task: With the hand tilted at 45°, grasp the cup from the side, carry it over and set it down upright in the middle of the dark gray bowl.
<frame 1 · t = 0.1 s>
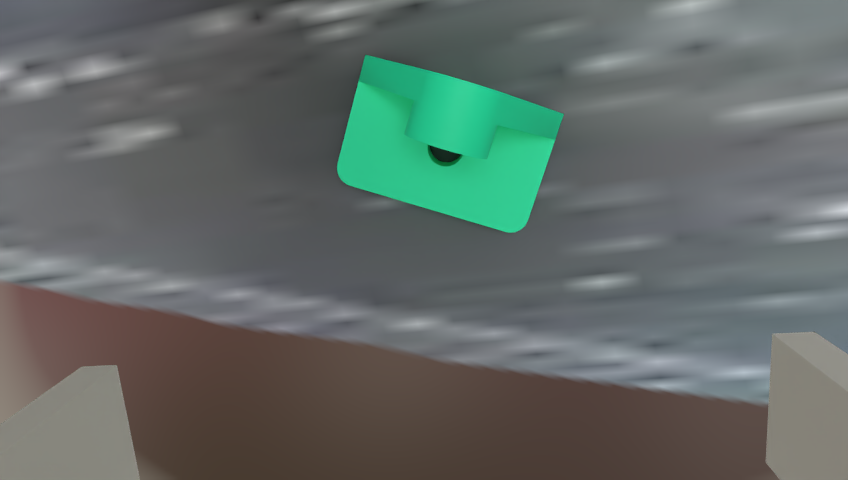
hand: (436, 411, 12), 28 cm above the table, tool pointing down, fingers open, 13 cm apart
camera mount: (447, 144, 39), on the table
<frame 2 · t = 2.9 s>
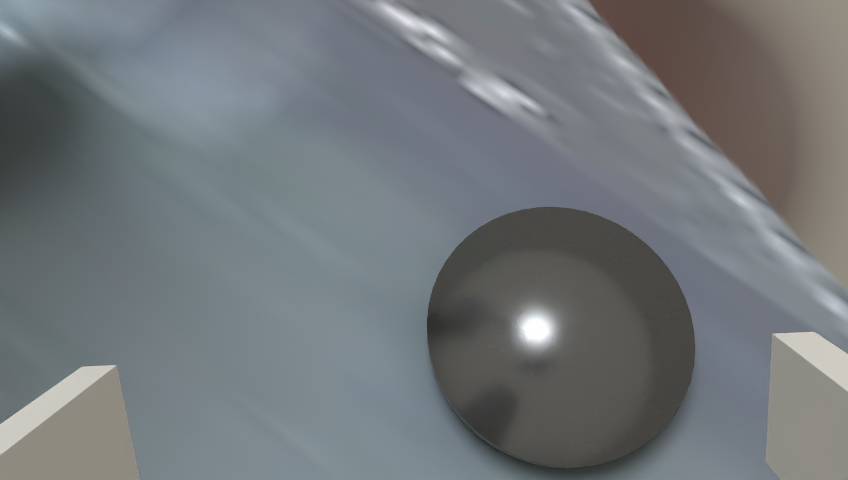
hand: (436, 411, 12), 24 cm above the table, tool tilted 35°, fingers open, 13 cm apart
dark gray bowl: (550, 339, 38), on the table
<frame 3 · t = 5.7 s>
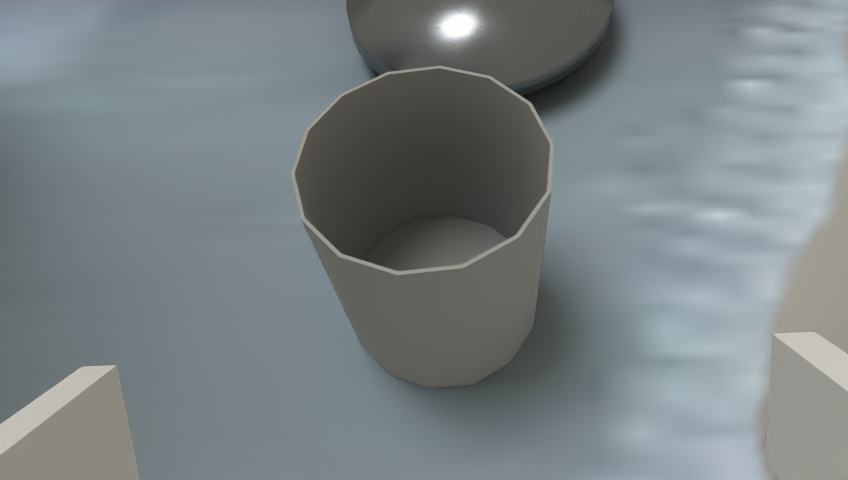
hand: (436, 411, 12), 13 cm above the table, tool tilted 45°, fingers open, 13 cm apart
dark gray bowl: (478, 29, 37), on the table
cup: (443, 300, 28), on the table
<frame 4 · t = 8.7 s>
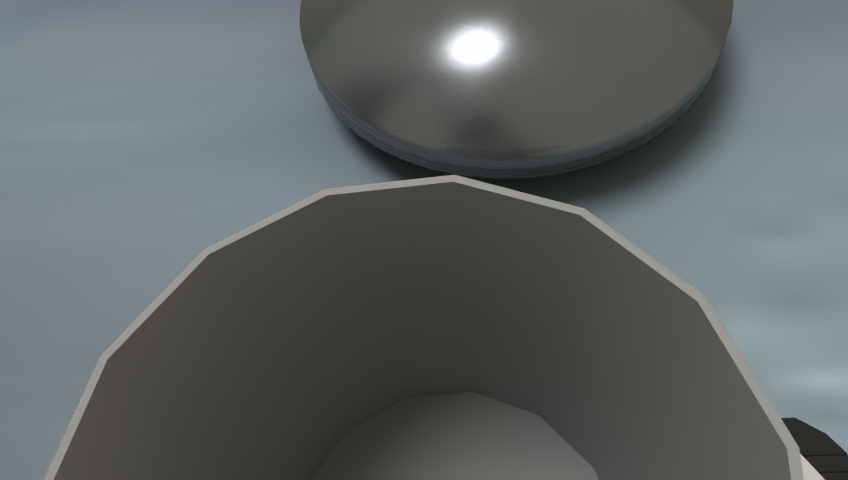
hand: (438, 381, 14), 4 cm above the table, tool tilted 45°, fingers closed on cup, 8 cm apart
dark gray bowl: (506, 52, 24), on the table
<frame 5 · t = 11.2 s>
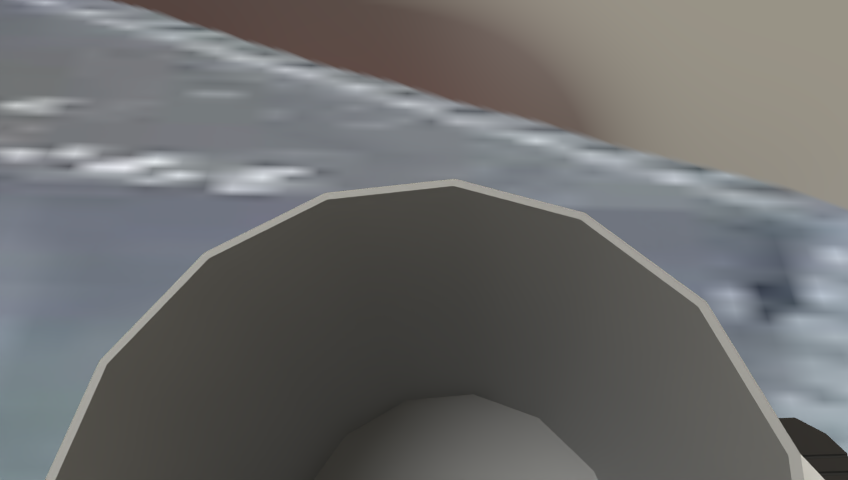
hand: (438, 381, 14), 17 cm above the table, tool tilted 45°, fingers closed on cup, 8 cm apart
when the fingers open (8 cm above the table, at t = 14.0 s): cup drops 1 cm, resting on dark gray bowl.
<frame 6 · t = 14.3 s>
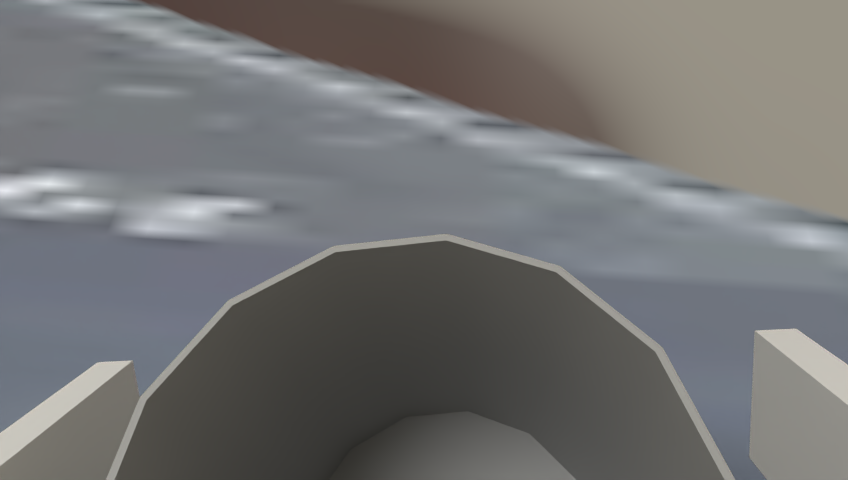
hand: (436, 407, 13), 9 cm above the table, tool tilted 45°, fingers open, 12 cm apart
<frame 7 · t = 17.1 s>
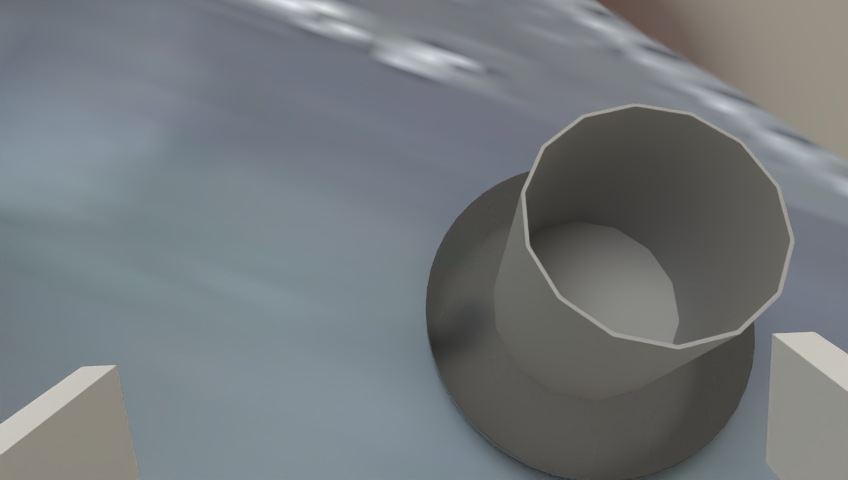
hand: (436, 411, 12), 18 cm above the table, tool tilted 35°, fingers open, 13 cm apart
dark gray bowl: (574, 323, 31), on the table
cup: (582, 308, 29), point 3 cm above the table, touching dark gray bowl
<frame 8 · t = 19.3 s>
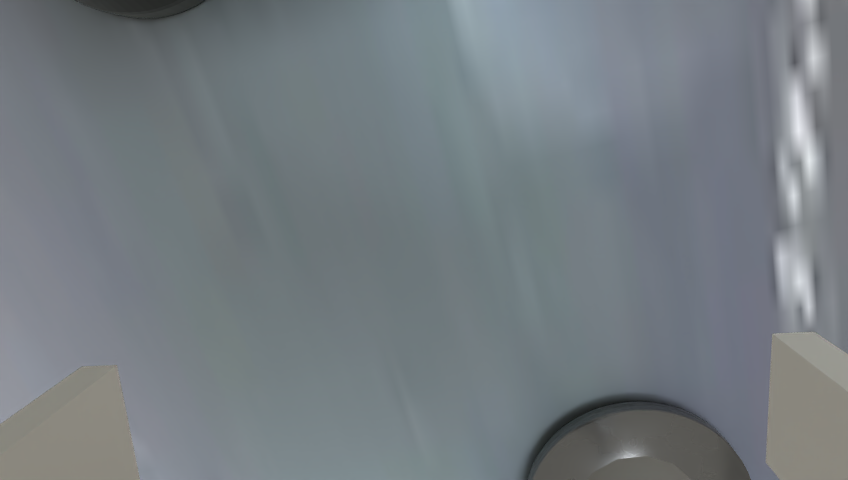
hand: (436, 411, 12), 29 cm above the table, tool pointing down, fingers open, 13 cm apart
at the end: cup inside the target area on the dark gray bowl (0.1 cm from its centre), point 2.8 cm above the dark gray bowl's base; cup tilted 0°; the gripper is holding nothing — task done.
